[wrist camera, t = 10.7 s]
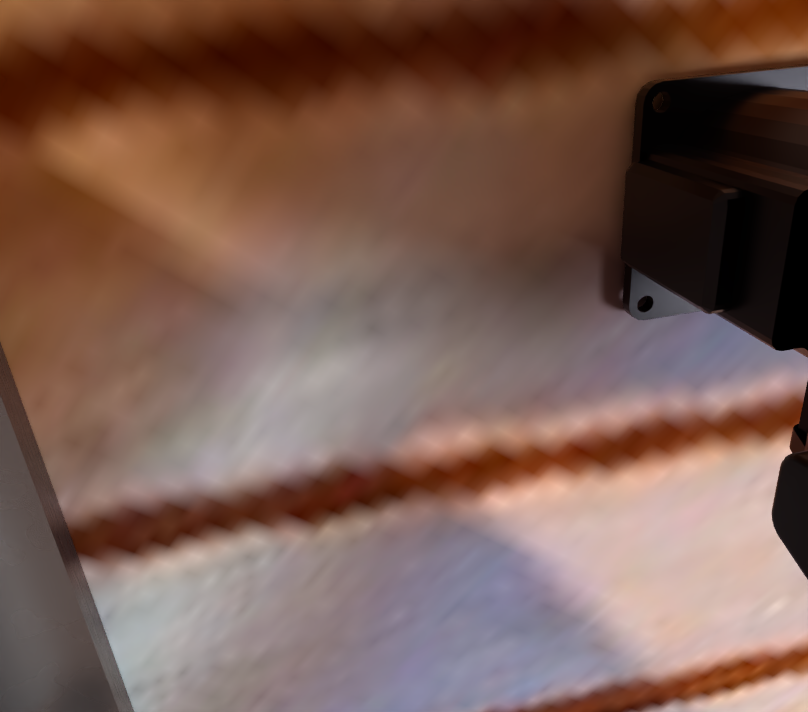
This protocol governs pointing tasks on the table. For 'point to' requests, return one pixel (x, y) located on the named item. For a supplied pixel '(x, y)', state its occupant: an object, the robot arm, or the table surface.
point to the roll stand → (44, 588)
